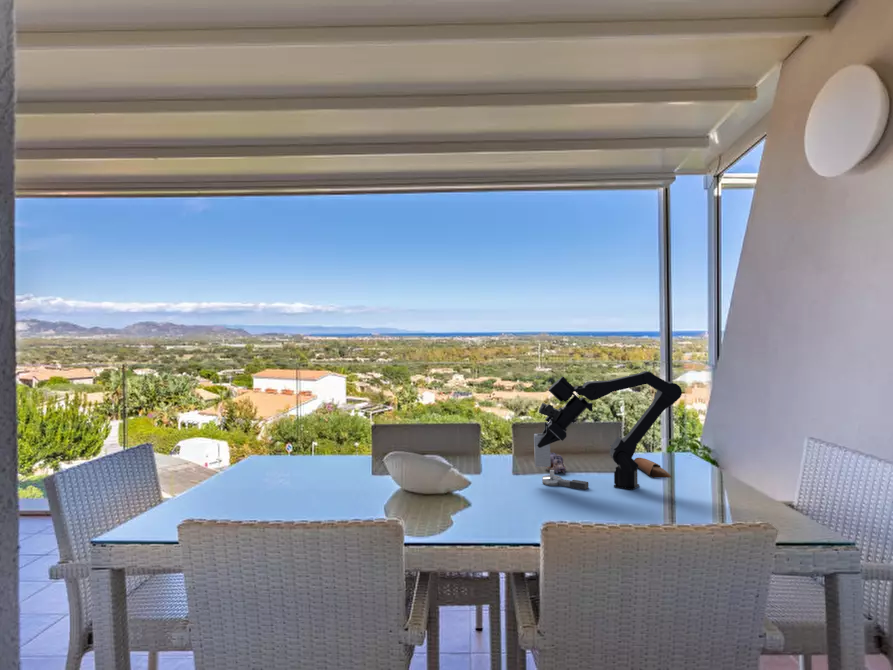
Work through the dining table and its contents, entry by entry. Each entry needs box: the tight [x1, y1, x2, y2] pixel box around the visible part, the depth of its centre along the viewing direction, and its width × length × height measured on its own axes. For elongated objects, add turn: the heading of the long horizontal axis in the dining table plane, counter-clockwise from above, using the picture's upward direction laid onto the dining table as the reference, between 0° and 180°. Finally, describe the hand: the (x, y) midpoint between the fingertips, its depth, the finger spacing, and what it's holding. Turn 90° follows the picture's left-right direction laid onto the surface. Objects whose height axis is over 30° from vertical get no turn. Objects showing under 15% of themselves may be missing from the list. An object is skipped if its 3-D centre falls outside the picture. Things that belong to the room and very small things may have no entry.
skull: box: [546, 452, 567, 475], centre depth 219 cm, size 12×8×6 cm, turn 1°
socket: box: [533, 433, 551, 468], centre depth 200 cm, size 5×5×10 cm
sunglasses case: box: [633, 457, 672, 478], centre depth 217 cm, size 18×7×7 cm
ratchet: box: [541, 469, 589, 491], centre depth 199 cm, size 16×6×4 cm, turn 53°
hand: (537, 445), depth 200 cm, fingers closed on socket, 5 cm apart
